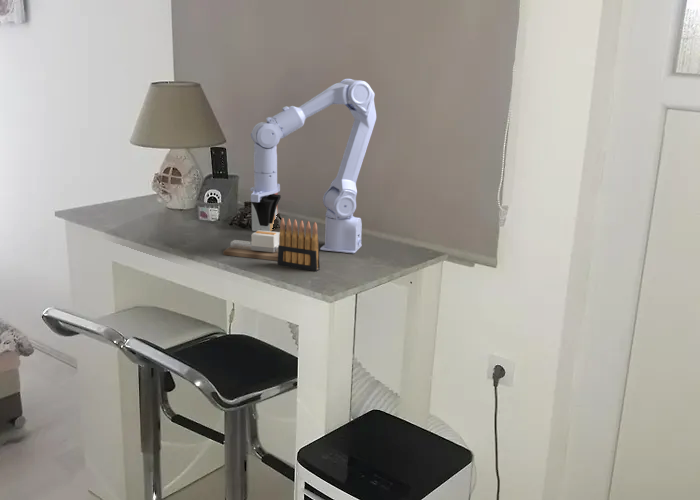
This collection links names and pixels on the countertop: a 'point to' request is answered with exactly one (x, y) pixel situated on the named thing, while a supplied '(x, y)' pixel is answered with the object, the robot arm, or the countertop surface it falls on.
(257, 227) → the small box
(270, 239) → the block
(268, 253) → the board
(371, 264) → the countertop surface
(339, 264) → the countertop surface
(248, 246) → the rail
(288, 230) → the ammunition clip
